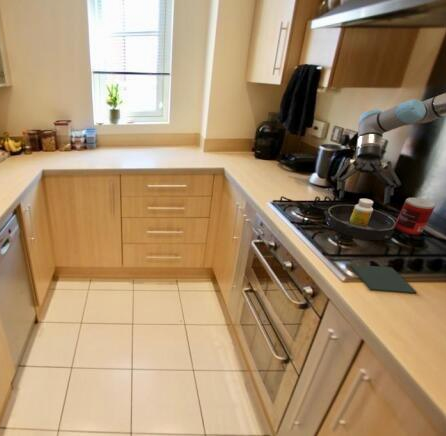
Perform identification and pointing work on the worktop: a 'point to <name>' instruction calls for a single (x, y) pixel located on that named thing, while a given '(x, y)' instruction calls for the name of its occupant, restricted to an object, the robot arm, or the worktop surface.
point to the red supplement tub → (414, 216)
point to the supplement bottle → (361, 213)
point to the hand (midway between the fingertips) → (363, 201)
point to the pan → (375, 229)
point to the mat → (382, 279)
